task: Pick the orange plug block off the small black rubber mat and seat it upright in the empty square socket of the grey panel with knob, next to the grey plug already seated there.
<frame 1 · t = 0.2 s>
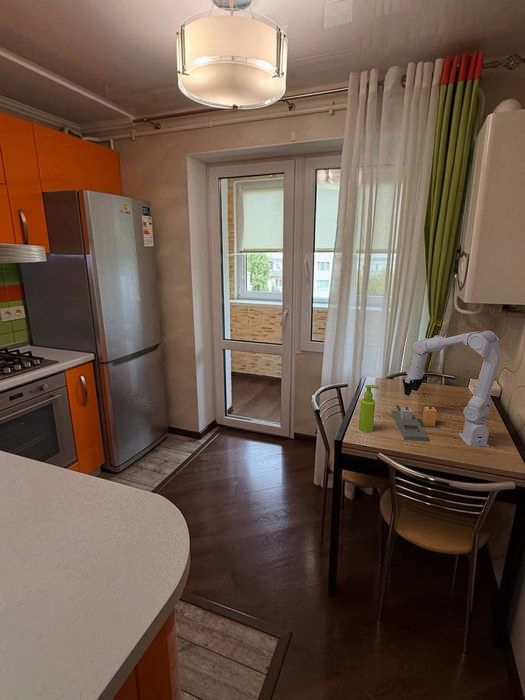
hand: (410, 392, 170), 10 cm above the table, tool pointing down, fingers open, 7 cm apart
mat: (428, 424, 162), on the table
soap dispenser: (366, 429, 158), on the table
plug: (428, 423, 162), resting on mat
grey panel with knob: (408, 427, 160), on the table
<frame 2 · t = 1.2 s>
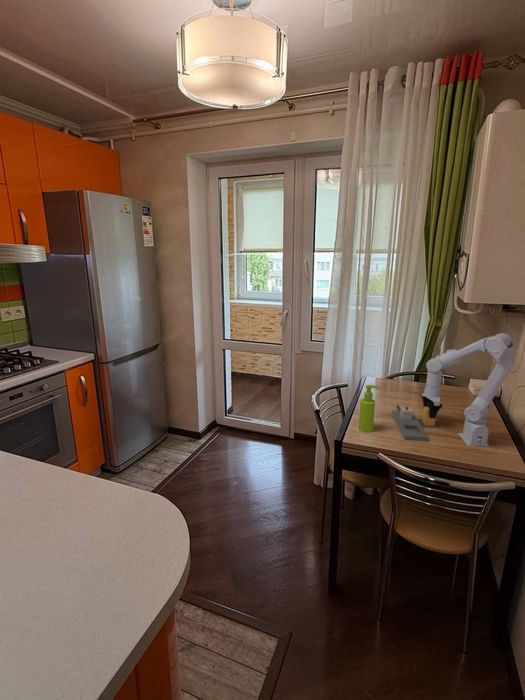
hand: (429, 414, 161), 5 cm above the table, tool pointing down, fingers open, 7 cm apart
nothing on the table moved.
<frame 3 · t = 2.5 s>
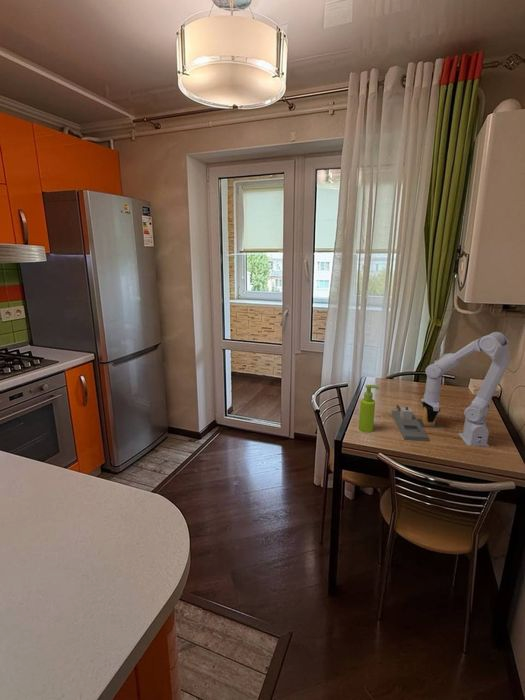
hand: (428, 419, 162), 2 cm above the table, tool pointing down, fingers closed on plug, 4 cm apart
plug: (428, 423, 162), resting on mat, touching gripper
everything else where it was.
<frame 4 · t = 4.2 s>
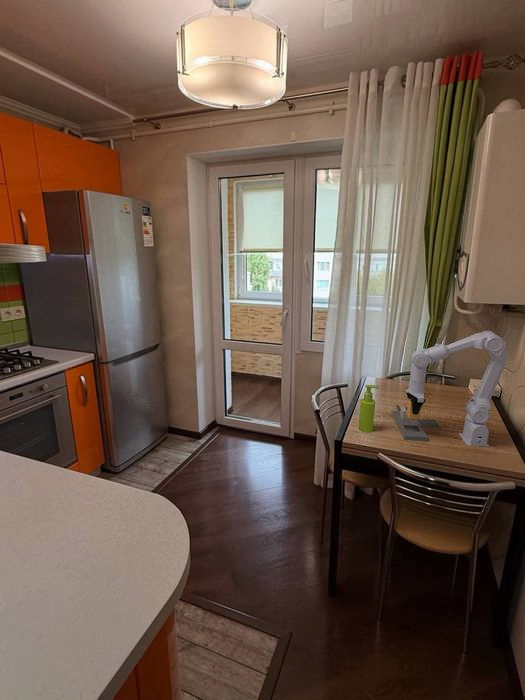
hand: (413, 411, 152), 10 cm above the table, tool pointing down, fingers closed on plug, 4 cm apart
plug: (413, 416, 153), point 7 cm above the table, touching gripper
everything else where it was.
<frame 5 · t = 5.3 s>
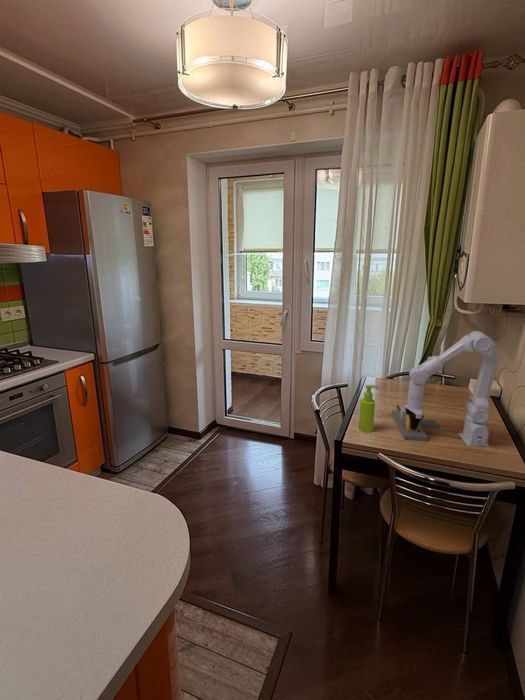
hand: (412, 426, 154), 3 cm above the table, tool pointing down, fingers closed on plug, 4 cm apart
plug: (411, 431, 155), resting on grey panel with knob, touching gripper
everything else where it was.
when the fingers open (3 cm above the table, at t = 6.0 s): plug stays where it is, resting on grey panel with knob.
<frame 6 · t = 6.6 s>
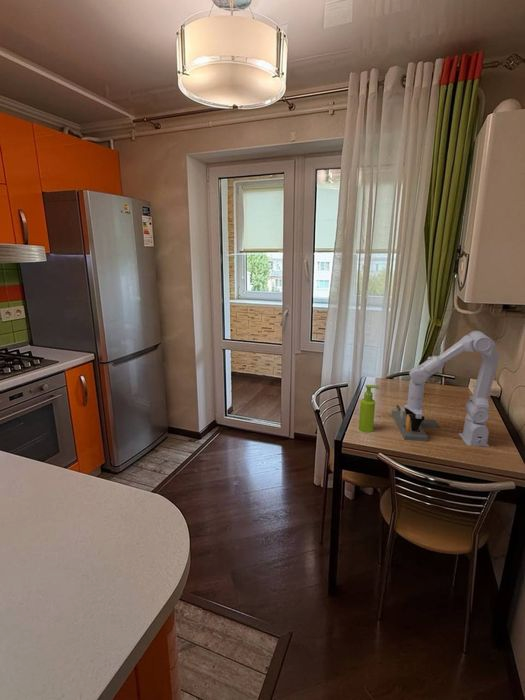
hand: (411, 426, 154), 3 cm above the table, tool pointing down, fingers open, 7 cm apart
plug: (411, 431, 155), resting on grey panel with knob
everything else where it was.
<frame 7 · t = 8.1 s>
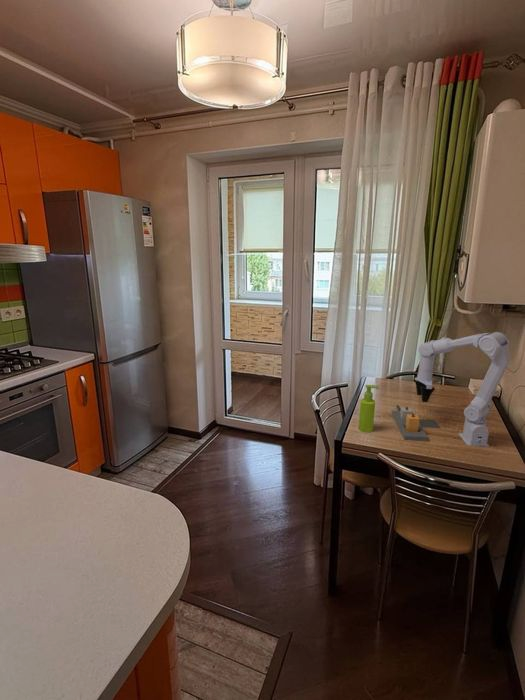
hand: (422, 398, 164), 10 cm above the table, tool pointing down, fingers open, 7 cm apart
nothing on the table moved.
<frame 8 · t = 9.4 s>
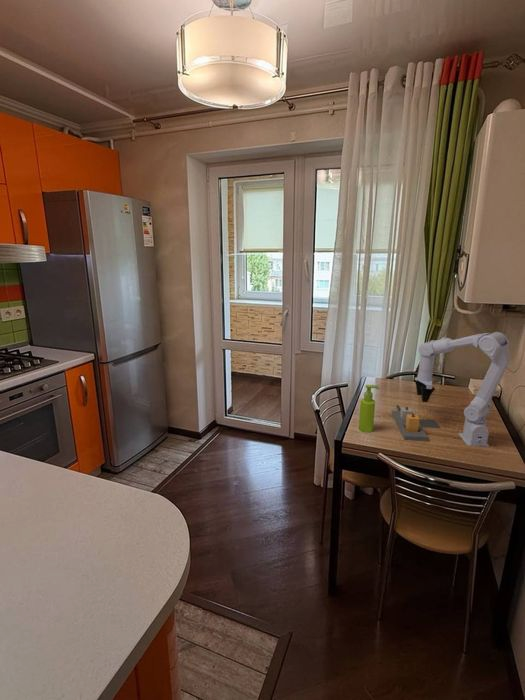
hand: (422, 398, 164), 10 cm above the table, tool pointing down, fingers open, 7 cm apart
nothing on the table moved.
at the end: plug 0.0 cm from the target spot on the grey panel with knob, point 0.4 cm above the grey panel with knob's base; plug tilted 0°; the gripper is holding nothing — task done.
